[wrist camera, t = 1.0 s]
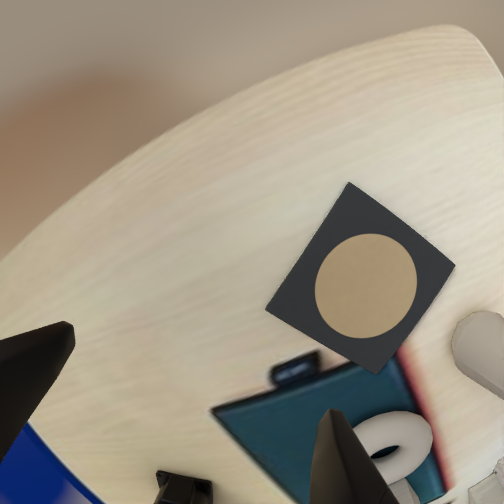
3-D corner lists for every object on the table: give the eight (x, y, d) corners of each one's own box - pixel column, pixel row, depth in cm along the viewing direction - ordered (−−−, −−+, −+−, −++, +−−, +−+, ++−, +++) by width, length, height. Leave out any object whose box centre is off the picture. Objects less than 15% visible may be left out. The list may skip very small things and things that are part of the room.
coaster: (375, 372, 23) (376, 375, 23) (265, 308, 23) (264, 310, 23) (453, 264, 21) (456, 265, 21) (348, 182, 21) (349, 181, 20)
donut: (436, 438, 24) (408, 385, 23) (446, 458, 21) (421, 408, 20) (355, 481, 26) (313, 438, 25) (360, 503, 22) (315, 464, 21)
